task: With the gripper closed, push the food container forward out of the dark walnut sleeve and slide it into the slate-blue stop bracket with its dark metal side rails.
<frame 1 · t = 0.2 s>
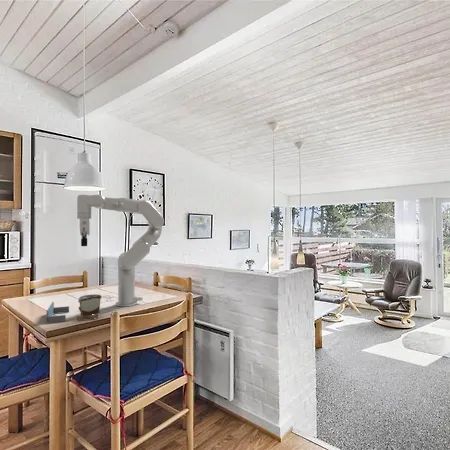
hand: (84, 245, 187), 36 cm above the table, tool pointing down, fingers open, 9 cm apart
walnut sleeve: (87, 314, 174), on the table
slate stop bracket: (58, 317, 169), on the table
food container: (87, 314, 174), on the table
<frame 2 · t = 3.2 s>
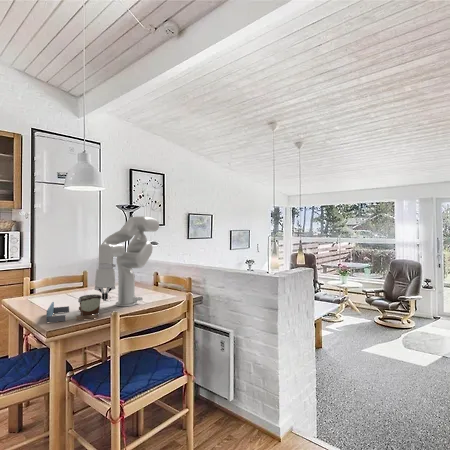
hand: (104, 300, 176), 7 cm above the table, tool pointing down, fingers closed
food container: (87, 314, 174), on the table, touching gripper
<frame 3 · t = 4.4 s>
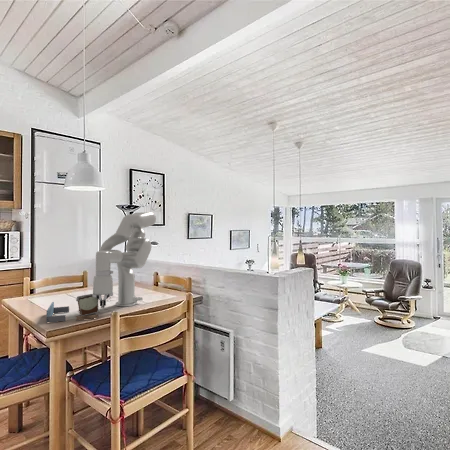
hand: (102, 307, 176), 3 cm above the table, tool pointing down, fingers closed
food container: (87, 314, 174), on the table
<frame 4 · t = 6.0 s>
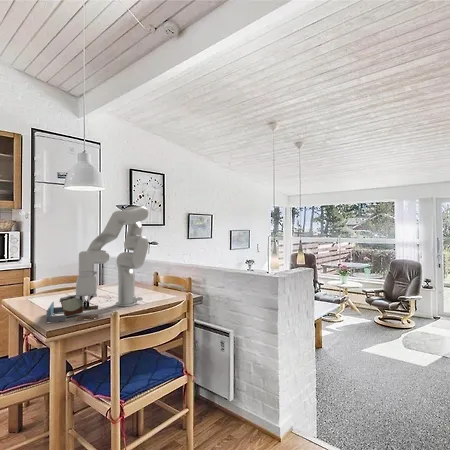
hand: (86, 308, 173), 3 cm above the table, tool pointing down, fingers closed
food container: (71, 315, 171), on the table, touching gripper
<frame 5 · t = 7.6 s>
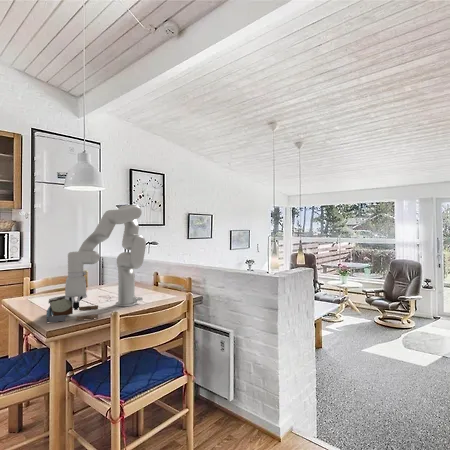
hand: (76, 309, 172), 3 cm above the table, tool pointing down, fingers closed
food container: (61, 316, 170), on the table, touching gripper
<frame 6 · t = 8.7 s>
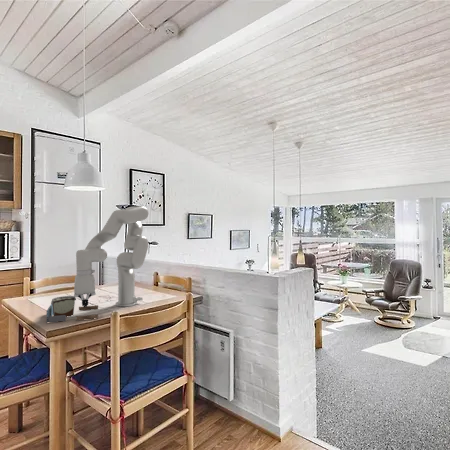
hand: (85, 306, 174), 4 cm above the table, tool pointing down, fingers closed
food container: (61, 317, 170), on the table
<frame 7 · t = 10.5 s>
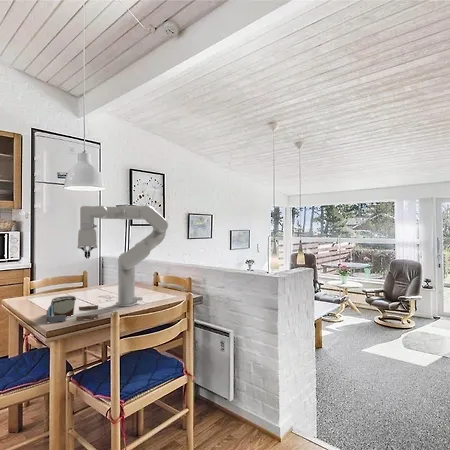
hand: (87, 258, 189), 29 cm above the table, tool pointing down, fingers closed
nothing on the table moved.
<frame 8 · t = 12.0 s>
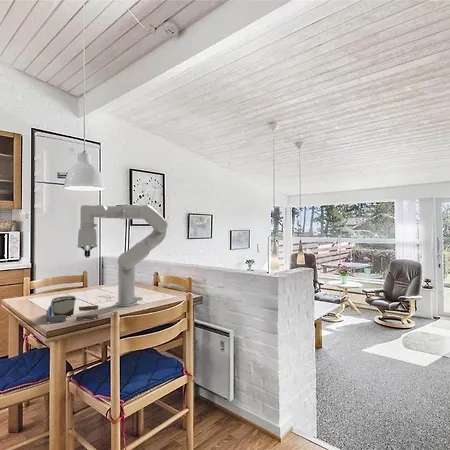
hand: (87, 257, 190), 29 cm above the table, tool pointing down, fingers closed
nothing on the table moved.
at the end: food container inside the target area on the slate stop bracket (1.1 cm from its centre), point 0.0 cm above the slate stop bracket's base; food container tilted 0°; food container moved 12.8 cm from its start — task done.
